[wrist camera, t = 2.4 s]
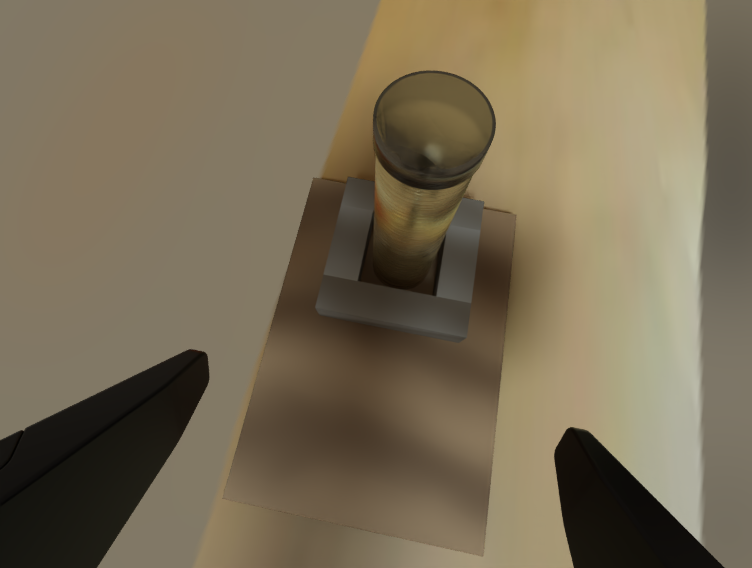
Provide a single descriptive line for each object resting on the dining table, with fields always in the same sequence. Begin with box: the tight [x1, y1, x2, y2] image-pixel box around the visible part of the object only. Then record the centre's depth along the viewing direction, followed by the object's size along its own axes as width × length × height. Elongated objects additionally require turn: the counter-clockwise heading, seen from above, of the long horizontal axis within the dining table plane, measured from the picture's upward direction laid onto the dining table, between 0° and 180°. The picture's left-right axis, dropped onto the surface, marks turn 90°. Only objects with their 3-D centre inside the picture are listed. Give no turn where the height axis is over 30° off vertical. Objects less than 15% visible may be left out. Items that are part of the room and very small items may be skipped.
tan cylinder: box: [373, 71, 496, 289], centre depth 18 cm, size 4×4×13 cm
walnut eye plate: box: [222, 177, 516, 556], centre depth 22 cm, size 20×14×3 cm
